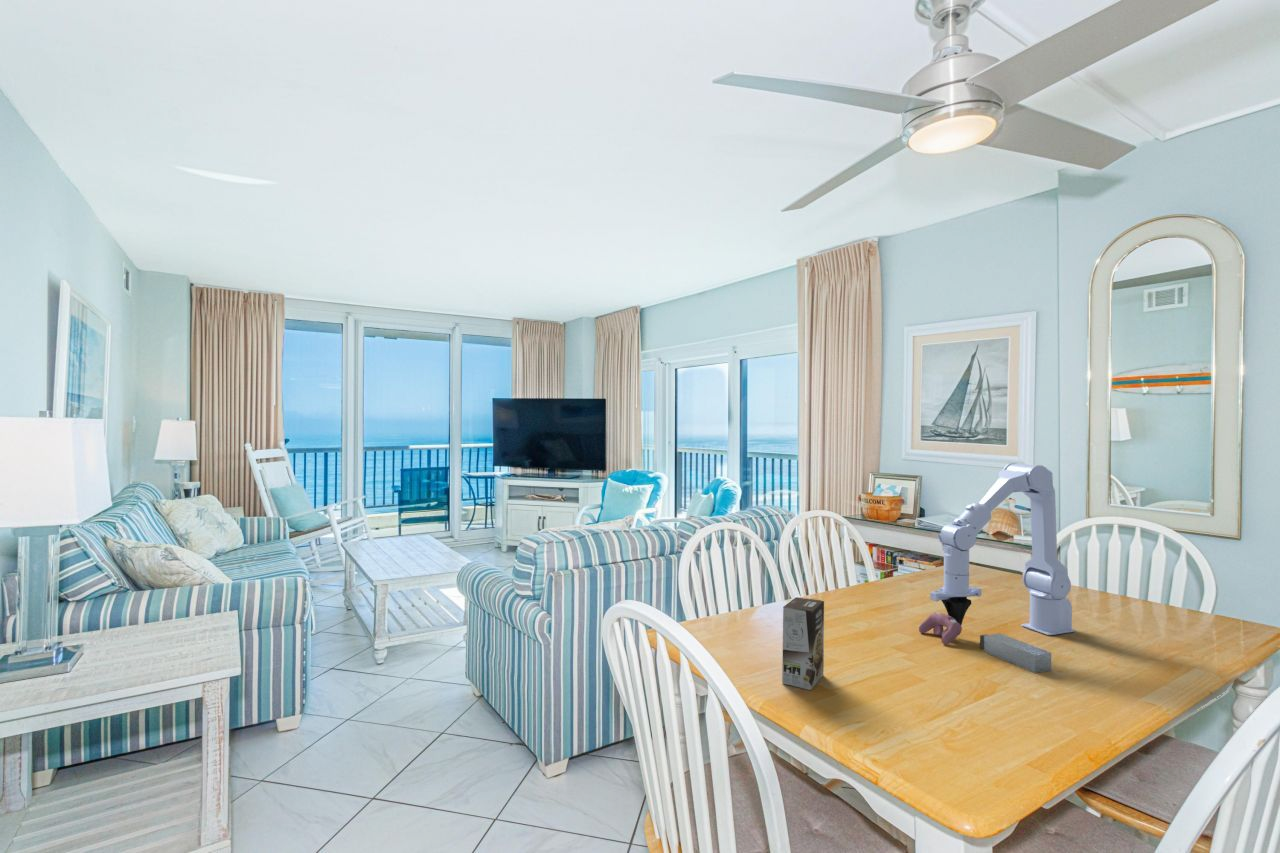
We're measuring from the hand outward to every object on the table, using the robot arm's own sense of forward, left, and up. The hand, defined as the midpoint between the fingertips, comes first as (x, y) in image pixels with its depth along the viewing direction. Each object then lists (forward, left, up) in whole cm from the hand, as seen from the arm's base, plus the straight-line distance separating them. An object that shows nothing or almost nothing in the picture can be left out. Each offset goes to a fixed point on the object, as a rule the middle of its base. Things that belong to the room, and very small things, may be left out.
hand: (955, 626), depth 157 cm
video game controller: (+4, -1, -3) cm, 5 cm away
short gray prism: (-1, +14, -3) cm, 14 cm away
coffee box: (+51, +10, -3) cm, 52 cm away
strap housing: (-1, +16, -3) cm, 16 cm away
